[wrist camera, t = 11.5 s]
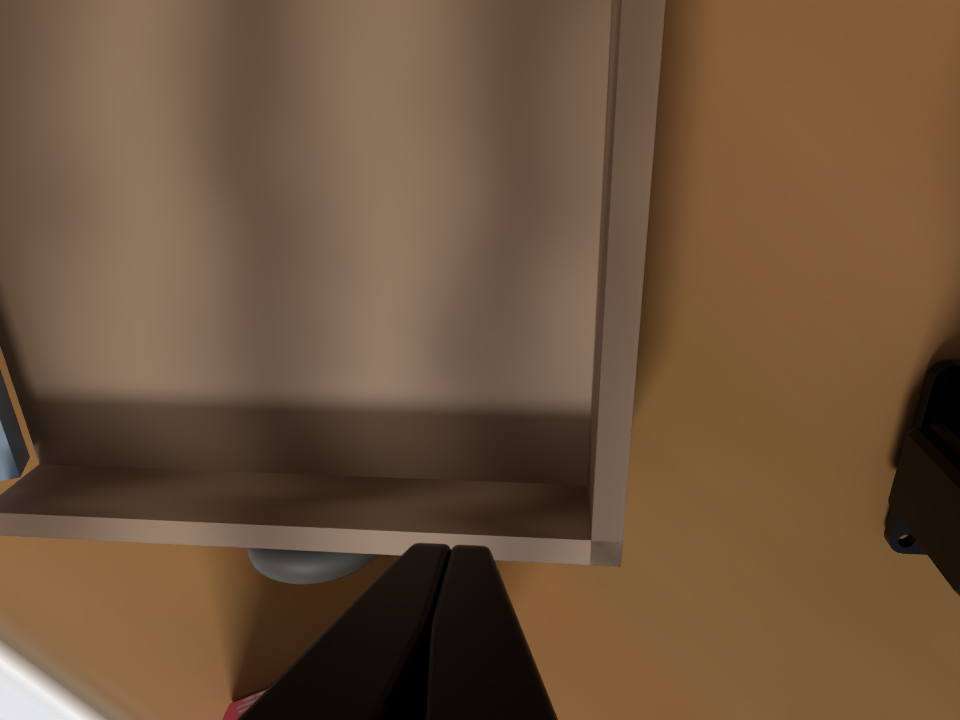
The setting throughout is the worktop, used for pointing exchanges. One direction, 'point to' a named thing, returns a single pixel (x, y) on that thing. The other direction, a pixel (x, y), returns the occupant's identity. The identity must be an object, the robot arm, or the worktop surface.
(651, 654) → the worktop surface
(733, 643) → the worktop surface
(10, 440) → the tailgate
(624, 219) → the tray
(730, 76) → the worktop surface
